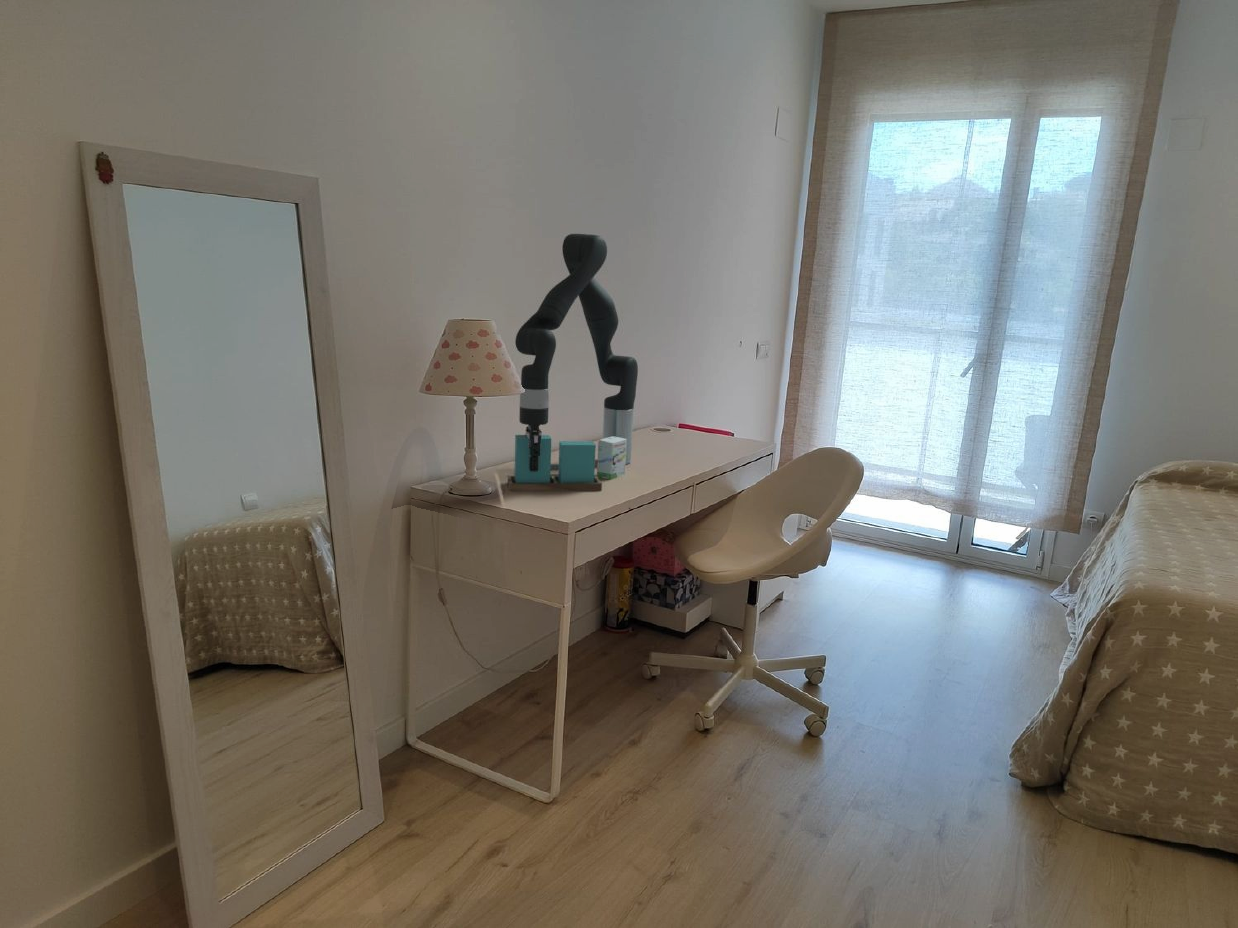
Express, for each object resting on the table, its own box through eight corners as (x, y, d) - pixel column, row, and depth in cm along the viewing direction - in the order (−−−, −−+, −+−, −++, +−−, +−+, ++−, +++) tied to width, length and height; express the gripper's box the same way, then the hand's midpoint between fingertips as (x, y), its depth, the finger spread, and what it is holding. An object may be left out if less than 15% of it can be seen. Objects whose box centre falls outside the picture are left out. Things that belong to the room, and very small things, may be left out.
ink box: (610, 483, 226) (612, 442, 223) (595, 480, 228) (597, 440, 225) (625, 477, 233) (627, 438, 230) (611, 475, 235) (613, 435, 233)
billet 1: (514, 478, 215) (515, 434, 212) (547, 478, 217) (549, 435, 214) (515, 483, 210) (516, 438, 207) (550, 483, 212) (551, 438, 209)
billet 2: (558, 484, 218) (559, 441, 215) (590, 484, 219) (592, 441, 217) (560, 489, 213) (561, 445, 210) (593, 488, 215) (595, 445, 212)
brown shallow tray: (507, 486, 217) (507, 475, 216) (595, 485, 222) (596, 475, 221) (509, 494, 209) (509, 483, 208) (601, 494, 214) (601, 483, 213)
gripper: (551, 410, 203) (549, 475, 207) (545, 401, 216) (543, 462, 220) (522, 409, 201) (520, 475, 205) (517, 400, 215) (516, 462, 219)
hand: (532, 468), depth 213 cm, fingers closed on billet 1, 5 cm apart
